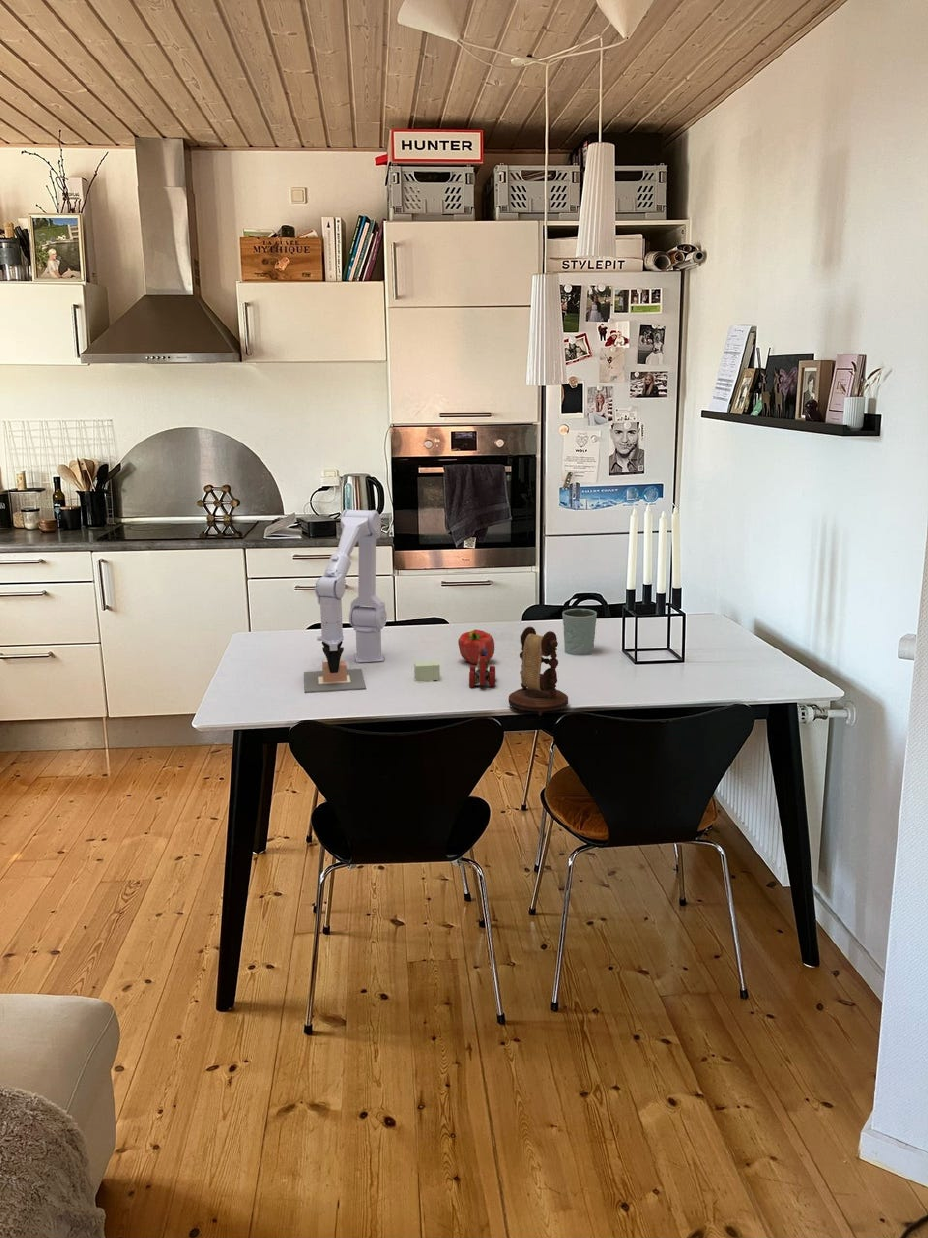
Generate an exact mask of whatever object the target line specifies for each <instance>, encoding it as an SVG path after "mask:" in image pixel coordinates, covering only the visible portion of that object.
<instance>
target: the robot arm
mask: <svg viewBox="0 0 928 1238" xmlns="http://www.w3.org/2000/svg"><path fill="white" fill-rule="evenodd" d="M381 519H382V517H381V516H380V514H379V512H378V510H375V509H372V510H367V509H366V510H364V509H350V508H349V509H348V508H347V509H344V510H343V511H342V514H341V515H340V527H341V531H342V532H341V536H340V540H339V541H338V542H339V543H338V547H337V550H336V553H333V554H331V555H330V557H329V560H328V563H327V565H326V567H325V571H324V572H323V575H322V576H320V577H319V578H318V579H317V580H316V582H315V588H314V593H315V595H316V597H317V603H318V605H319V608H320V609H319V610H320V631H321V636H317V642H321V645H322V646H323V647H322V648H321V649H322V652H323V654H324V656H325V658H326V662H328V666H329V671H330V673H338V671H339V664H340V661H341V657H342V654H343V652H344V651H345V647H342V645H343V642H344V640H345V636H344V631H343V630H344V629H343V626H344V625H343V607H342V606H343V604H342V598H343V597H344V595H345V592H346V584H347V580H346V578H347V575H348V572H349V569H350V568H351V565H352V562H351V559H350V556H351V554H352V552H353V550H354V548H355V546H356V544H357V543H358V576H357V577H358V579H357V580H358V592H357V593H358V594H357V595H358V596H357V597H356V598H354V599H353V600H352V601H351V602H350V604H349V605H350V608H349V611H348V612H349V613H348V622H349V625H350V626H351V627H352V628H353V631H355V650H356V651H355V652H354V653H353V655H354V658H355V662H356V664H357V663H371V662H372V663H374V662H384V659H385V658H384V656H383V653H382V636H381V635H382V632H381V630H382V629H383V628H384V627H385V625H386V623H387V620H388V619H387V612H386V611H387V610H386V605H385V603H386V602H385V601H383V600H382V599H381V598H379V597H378V596H377V595H376V592H377V591H376V590H377V589H376V588H377V587H376V585H377V580H376V578H377V573H376V572H377V539H379V538H381V531H382V527H381V526H382V521H381Z"/></svg>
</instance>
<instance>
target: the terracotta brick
mask: <svg viewBox="0 0 928 1238" xmlns="http://www.w3.org/2000/svg"><path fill="white" fill-rule="evenodd" d="M321 667H322V668H321V669H322V670H321V671H322V673H323V682H337V681H347V668H348V667H347V661H346V660H340V664H339V671H338V673H330V671H329V666H328V662H327V661H322V662H321Z"/></svg>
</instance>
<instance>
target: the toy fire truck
mask: <svg viewBox="0 0 928 1238" xmlns="http://www.w3.org/2000/svg"><path fill="white" fill-rule="evenodd" d="M486 655H487V650H486V642H480V657H479V659H478V664H476V665H470V666H469V673H468V687H470V686H474V687H475V686H476V685H480V686H486V682H488V687H490V686H494V687H495V685H496V684H495V683H496V665H489V663H488V662H487V660H486ZM476 667H477V669H476ZM488 668H489V669H488Z"/></svg>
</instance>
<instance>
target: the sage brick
mask: <svg viewBox="0 0 928 1238" xmlns="http://www.w3.org/2000/svg"><path fill="white" fill-rule="evenodd" d="M413 669H414V671H413V672H414V674H413V675H414V680H415V679H416V680H415V682H416V681H426V682H431V681H430V680H440V669H441V668H440V663H439V661H438V660H426V661H424V660H423V661H413Z"/></svg>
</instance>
